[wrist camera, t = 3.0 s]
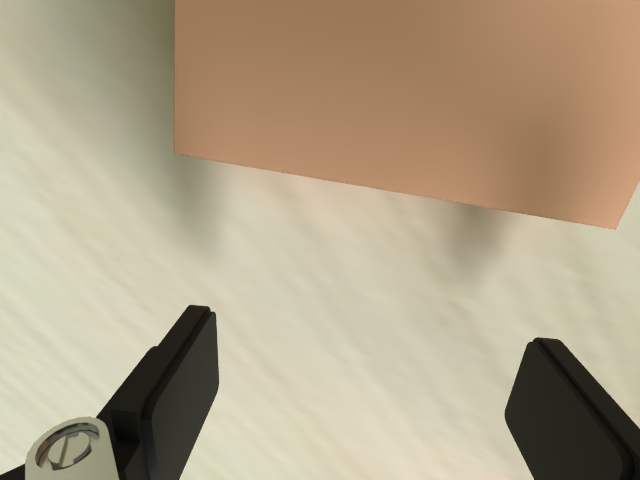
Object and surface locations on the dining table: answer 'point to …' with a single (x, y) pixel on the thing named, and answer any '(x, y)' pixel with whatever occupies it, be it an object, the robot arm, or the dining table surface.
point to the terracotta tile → (421, 97)
